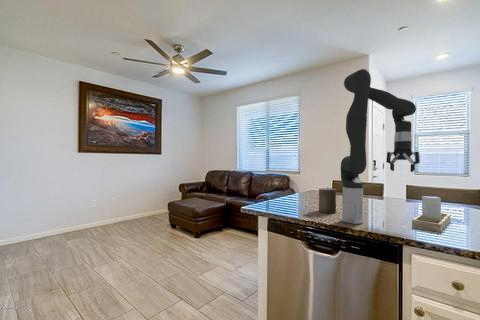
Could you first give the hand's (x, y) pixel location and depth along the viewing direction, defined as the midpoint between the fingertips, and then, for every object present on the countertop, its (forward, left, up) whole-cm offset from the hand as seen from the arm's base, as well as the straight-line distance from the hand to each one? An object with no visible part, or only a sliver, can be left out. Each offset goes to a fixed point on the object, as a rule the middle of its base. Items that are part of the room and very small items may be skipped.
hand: (402, 171), depth 119 cm
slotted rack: (-1, -13, -25) cm, 28 cm away
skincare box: (-1, -12, -24) cm, 27 cm away
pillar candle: (-16, +33, -25) cm, 45 cm away
